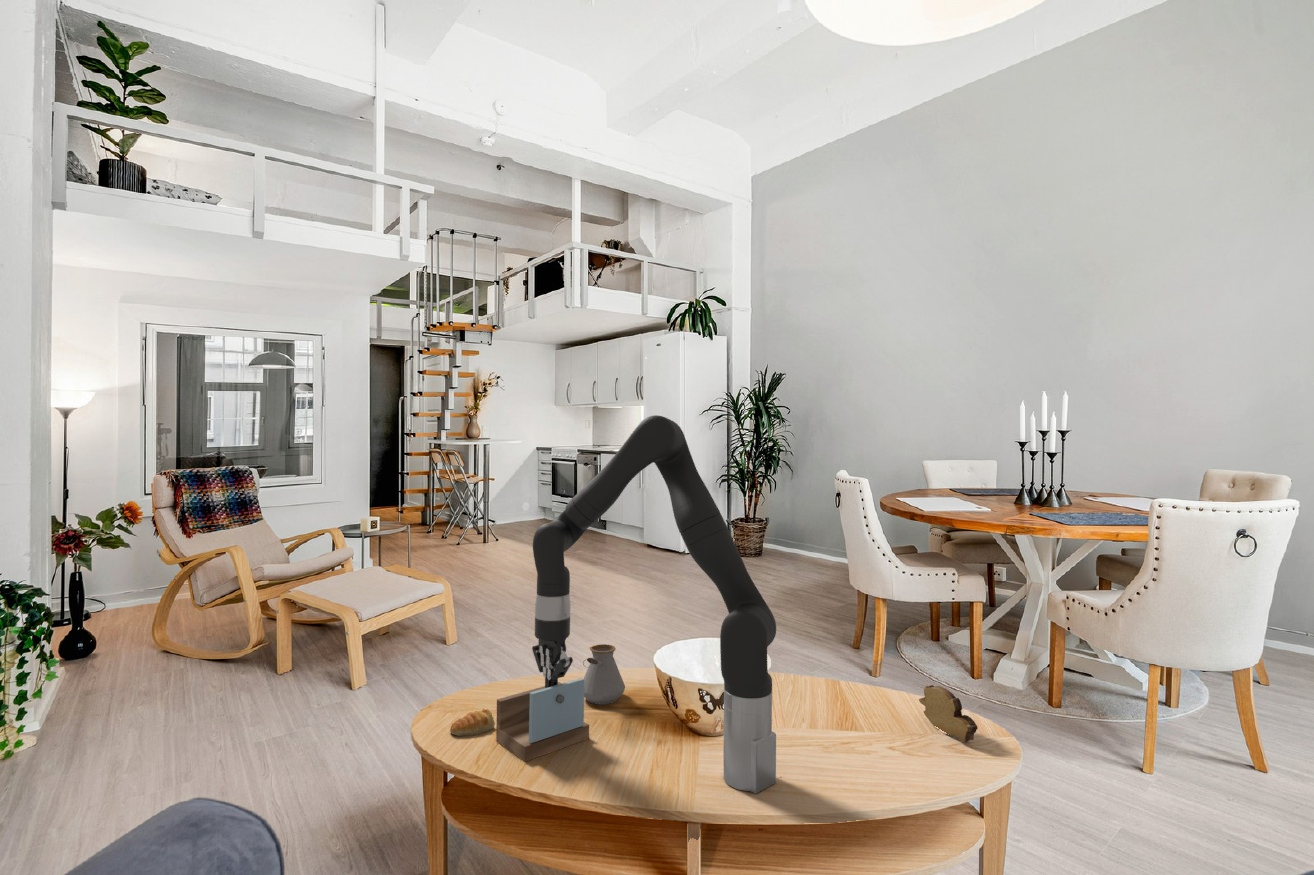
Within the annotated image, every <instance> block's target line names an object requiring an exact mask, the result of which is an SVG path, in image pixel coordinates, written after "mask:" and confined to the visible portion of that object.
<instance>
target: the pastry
mask: <svg viewBox="0 0 1314 875" xmlns="http://www.w3.org/2000/svg"><path fill="white" fill-rule="evenodd" d="M495 725H496V724H495V720H494V717H493V713H492V711H491V710H490V709H488V708H482V710H476V711H475V710H474V711H472V712H468V713H467V714H466V715H465V716H463V717H460V718H458V719H456V721H454V722H453V723H452V724H451V725H450V729H449V733H450V734H453V735H455V736H457V737H463V736H471V735H473V736H474V735H476V734H481V733H485V732H488V731H491V730H493V728H494V727H495ZM484 731H485V732H484ZM480 732H481V733H480Z"/></svg>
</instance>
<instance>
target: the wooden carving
mask: <svg viewBox="0 0 1314 875" xmlns="http://www.w3.org/2000/svg"><path fill="white" fill-rule="evenodd" d="M923 694H924V697H920V698H918V701H919V703H920V704H921V705H922V706H925V708H924V709H925V710H924V711H923V714H924V715H925V717H926V718H927V719H928V721H929V722H930V723H931V724H932V726H933V727H934V726H936V727H938V728H939V729H941V730H942V731H944V732H946V733H947V734H949V735H950V737H952V736H954V737H956V738H957V739H958V740H959V741H960V742H962V743H968V742H970V741H974V739H975V733H977V730H979V729H978V725H977V724H976V722H975V720H974V719H972V717H970V716H969V715H967V714H964V715H963V712H962V710H963V705H962V702H961V699H960V698H959V697H956V696H955V695H954V693H952V692H951V691H950V690H948V688H946V687H943V686H940V685H937V686H935V685H933V684H931V685H925V686H924V688H923ZM949 735H948V736H949Z"/></svg>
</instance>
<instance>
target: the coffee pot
mask: <svg viewBox="0 0 1314 875" xmlns="http://www.w3.org/2000/svg"><path fill="white" fill-rule="evenodd" d="M589 650H590V651H591V654H592V657H588V658H586V659H585V660H583V662H582V665H583V666H585V665H584V662H585V661H586V662H588V663H589V664H588V666H586V668H587V669H586V672H585V674H584V677H583V679H584V699H588V700H587V701H588V702H589V703H591V704H593V703H595V705H609V703H610V704H613V703H615V702H616V701H618V699H620V698H621V697H622V695H623V694H624V692H625V689H626V685H625V683H624V680H623V678H622V674H621V672H620V670H619V667H618V664H617V663H616V660H615V658H614V653H615V652H616V647H615V646H614V645H612V644H605V643H604V644H602V643H600V644H596V645H592V646H589Z"/></svg>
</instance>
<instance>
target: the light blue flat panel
mask: <svg viewBox="0 0 1314 875" xmlns="http://www.w3.org/2000/svg"><path fill="white" fill-rule="evenodd" d="M561 683H562V684H559V685H555V686H552V687H548V688H544V689H541V690H537V691H534V692H530V709H529V742H530V743H533V742H536V741H539V740H542V739H545V738H548V737H551V736H554V735H557V734H560V733H563V732H566V731H569V730H572V729H574V728H577V727H580V726H583V725H584V722H585V718H584V717H585V697H584V677H581V678H577V679H573V680H570V681H567V682H564V683H563V682H561Z"/></svg>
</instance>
